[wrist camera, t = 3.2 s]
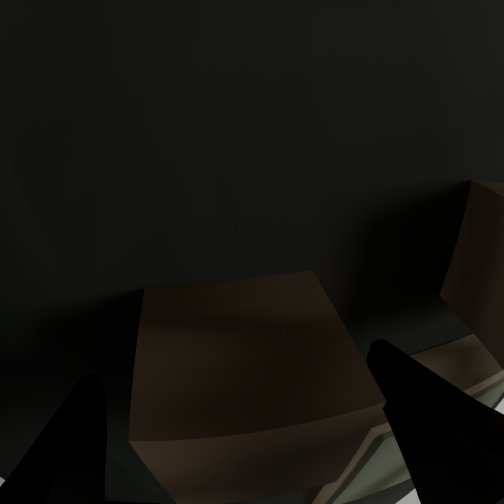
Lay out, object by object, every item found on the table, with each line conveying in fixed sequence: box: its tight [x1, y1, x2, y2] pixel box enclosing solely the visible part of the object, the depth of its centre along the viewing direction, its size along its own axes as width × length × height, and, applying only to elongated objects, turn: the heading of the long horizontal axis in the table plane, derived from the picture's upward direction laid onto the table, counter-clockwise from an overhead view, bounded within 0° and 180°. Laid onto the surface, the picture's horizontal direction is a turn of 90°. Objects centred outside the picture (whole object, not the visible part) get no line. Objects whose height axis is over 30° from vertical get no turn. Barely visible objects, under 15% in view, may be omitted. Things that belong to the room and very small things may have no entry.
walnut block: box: [129, 271, 387, 504], centre depth 9 cm, size 5×5×5 cm
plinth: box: [299, 333, 504, 504], centre depth 16 cm, size 12×14×3 cm
